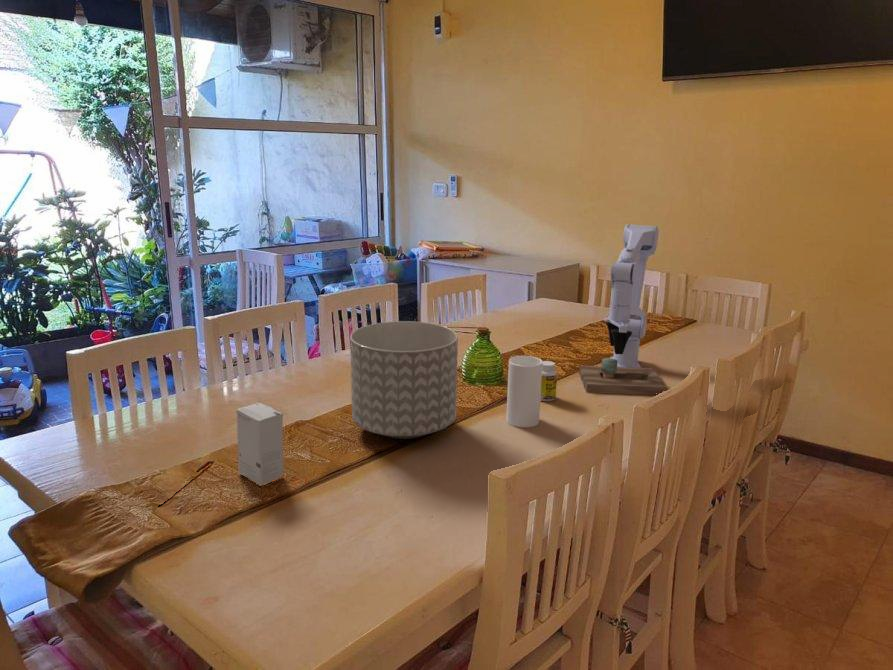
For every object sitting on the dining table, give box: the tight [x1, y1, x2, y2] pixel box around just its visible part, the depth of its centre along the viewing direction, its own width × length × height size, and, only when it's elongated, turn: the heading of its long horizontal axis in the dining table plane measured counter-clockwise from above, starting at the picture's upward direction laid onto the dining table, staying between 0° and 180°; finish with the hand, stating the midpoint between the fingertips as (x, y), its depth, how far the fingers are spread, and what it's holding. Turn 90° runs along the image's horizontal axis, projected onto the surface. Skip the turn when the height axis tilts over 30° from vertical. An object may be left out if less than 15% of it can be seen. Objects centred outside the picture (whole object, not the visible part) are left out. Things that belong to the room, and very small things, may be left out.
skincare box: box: [236, 402, 284, 485], centre depth 135 cm, size 8×6×15 cm
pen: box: [196, 460, 212, 472], centre depth 134 cm, size 1×19×1 cm, turn 168°
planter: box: [349, 320, 459, 440], centre depth 157 cm, size 25×25×24 cm
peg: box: [601, 357, 618, 378], centre depth 193 cm, size 4×4×7 cm
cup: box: [505, 355, 543, 429], centre depth 164 cm, size 8×8×16 cm
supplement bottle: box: [540, 360, 558, 402], centre depth 180 cm, size 6×6×10 cm
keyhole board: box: [578, 365, 667, 396], centre depth 193 cm, size 16×22×2 cm
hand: (616, 349), depth 191 cm, fingers open, 7 cm apart
